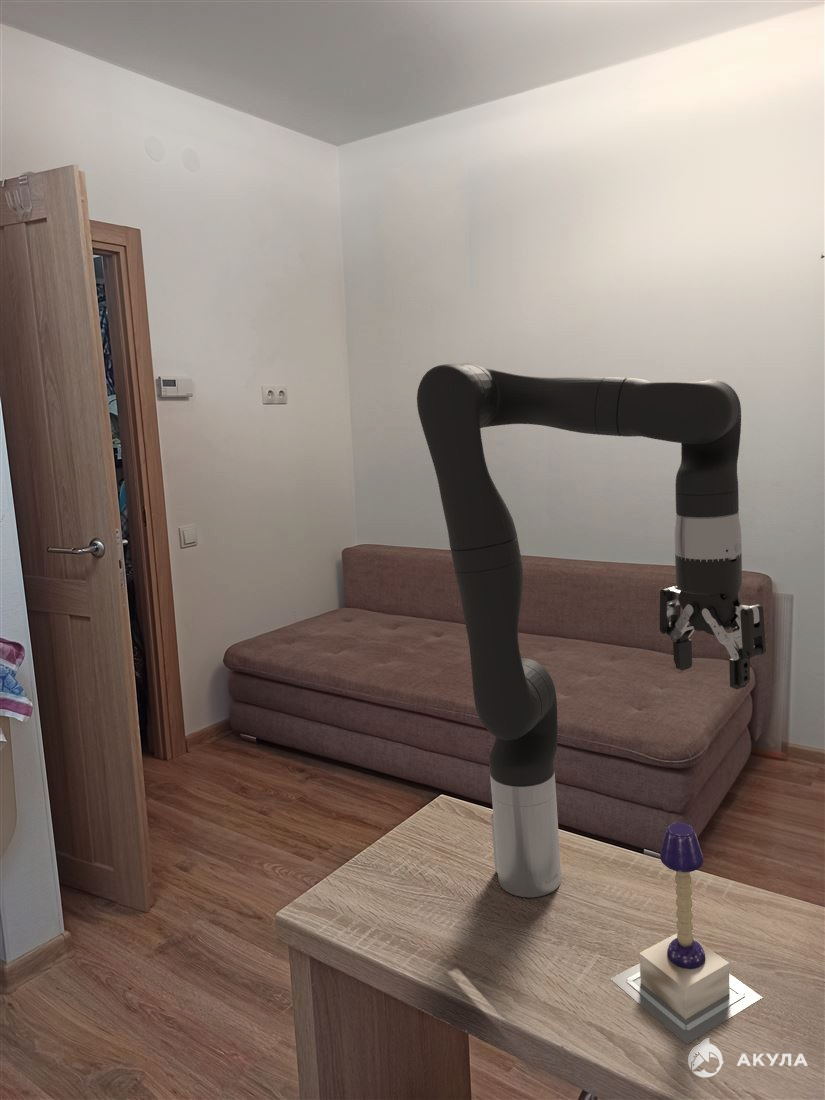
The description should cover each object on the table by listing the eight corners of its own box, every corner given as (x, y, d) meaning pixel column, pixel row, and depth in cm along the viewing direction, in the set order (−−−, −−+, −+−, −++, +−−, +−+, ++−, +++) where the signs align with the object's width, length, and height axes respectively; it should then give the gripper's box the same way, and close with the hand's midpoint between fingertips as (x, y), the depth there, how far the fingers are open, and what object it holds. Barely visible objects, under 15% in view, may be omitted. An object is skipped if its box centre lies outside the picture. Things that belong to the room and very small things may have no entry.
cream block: (640, 982, 97) (639, 953, 97) (683, 959, 101) (682, 930, 100) (685, 1019, 91) (684, 988, 90) (729, 993, 94) (729, 963, 94)
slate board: (610, 986, 99) (610, 978, 98) (682, 946, 104) (682, 939, 104) (686, 1052, 88) (686, 1043, 88) (762, 1005, 94) (762, 996, 93)
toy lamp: (708, 973, 92) (705, 839, 89) (665, 971, 93) (661, 838, 90) (702, 945, 97) (699, 816, 94) (661, 943, 98) (657, 815, 95)
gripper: (641, 547, 103) (646, 670, 106) (734, 564, 90) (736, 702, 93) (685, 537, 106) (688, 656, 109) (780, 552, 94) (780, 686, 97)
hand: (710, 677), depth 101 cm, fingers open, 8 cm apart
